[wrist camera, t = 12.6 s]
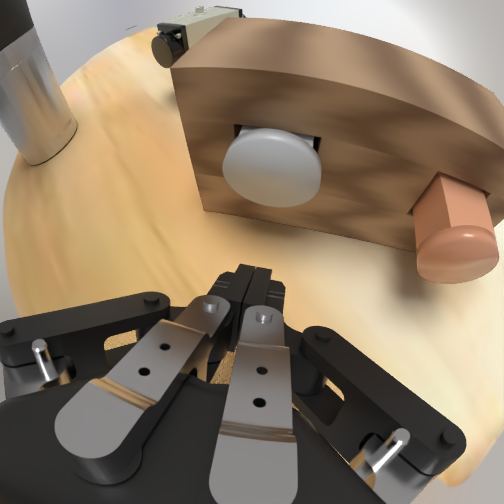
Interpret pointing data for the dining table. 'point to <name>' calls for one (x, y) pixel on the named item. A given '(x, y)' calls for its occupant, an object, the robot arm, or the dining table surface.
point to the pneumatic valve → (187, 32)
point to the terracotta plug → (453, 232)
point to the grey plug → (273, 166)
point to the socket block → (338, 123)
